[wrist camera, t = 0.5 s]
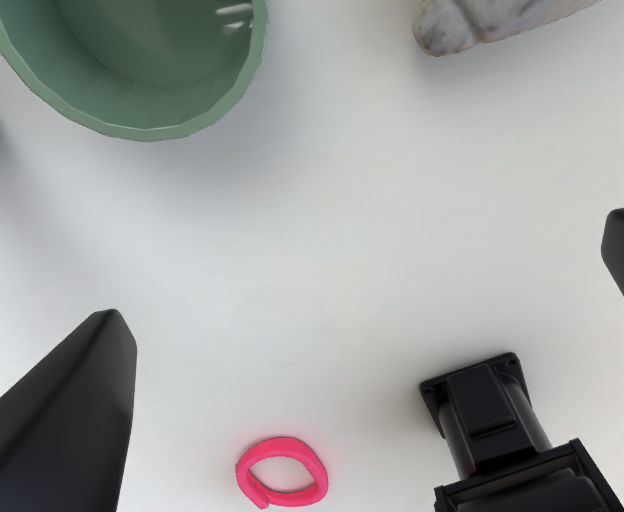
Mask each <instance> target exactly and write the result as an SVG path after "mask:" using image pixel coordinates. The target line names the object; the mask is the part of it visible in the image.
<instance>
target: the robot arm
mask: <svg viewBox="0 0 624 512" xmlns="http://www.w3.org/2000/svg"><path fill="white" fill-rule="evenodd" d="M601 255H602V258H603V261H604V263H605V265H606V266H607V268H608V270H609V272H610V273H611V275H612V277H613V278H614V280H615V282H616V284H617V285H618V287H619V289H620V291H621V292H622V294H623V296H624V208H620V209H615V210H612V211H611V212H610V213H609V214H608V216H607V219H606V224H605V229H604V234H603V239H602V245H601ZM136 362H137V345H136V341H135V339H134V337H133V335H132V333H131V331H130V329H129V328H128V326H127V324H126V322H125V320H124V319H123V317H122V315H121V314H120V312H119V311H118V310H116V309H108V310H103V311H98V312H94V313H92V314H91V315H90V316H89V317H88V318H87V319H86V320H85V321H84V322H82V323H81V324H80V325H79V326H78V327H77V328H76V329H75V330H74V331H73V332H72V333H70V334H69V335H68V336H67V337H66V338H65V339H64V340H63V341H62V342H61V343H60V344H58V345H57V346H56V347H55V348H54V349H53V350H52V351H51V352H50V353H49V354H48V355H46V356H45V357H44V358H43V359H42V360H41V361H40V362H39V363H38V364H37V365H35V366H34V367H33V368H32V369H31V370H30V371H29V372H28V373H27V374H26V375H25V376H23V377H22V378H21V379H20V380H19V381H18V382H17V383H16V384H15V385H14V386H13V387H11V388H10V389H9V390H8V391H7V392H6V393H5V394H4V395H3V396H2V397H1V398H0V512H116V510H117V505H118V500H119V494H120V489H121V483H122V478H123V473H124V467H125V462H126V456H127V451H128V446H129V440H130V434H131V428H132V420H133V408H134V392H135V377H136ZM419 389H420V392H421V395H422V397H423V399H424V401H425V403H426V405H427V407H428V409H429V411H430V413H431V415H432V417H433V420H434V422H435V424H436V426H437V428H438V430H439V432H440V434H441V436H442V438H443V439H446V440H447V443H448V446H449V449H450V452H451V454H452V457H453V460H454V463H455V466H456V469H457V472H458V474H459V477H460V480H461V481H458V482H455V483H452V484H449V485H447V486H443V485H441V486H439V487H436V488H434V491H435V495H436V500H437V501H436V502H435V504H434V508H435V512H624V508H623V506H622V504H621V503H620V501H619V499H618V498H617V496H616V495H615V493H614V492H613V490H612V489H611V487H610V485H609V484H608V482H607V481H606V479H605V478H604V476H603V475H602V473H601V472H600V470H599V469H598V467H597V466H596V464H595V463H594V461H593V460H592V458H591V457H590V455H589V454H588V452H587V450H586V449H585V447H584V446H583V444H582V443H581V441H580V440H579V438H575V439H573V440H570V441H569V443H567V444H564V445H561V446H558V447H555V448H553V447H552V445H551V443H550V441H549V440H548V438H547V436H546V434H545V432H544V430H543V428H542V426H541V425H540V423H539V421H538V419H537V417H536V415H535V413H534V412H533V410H532V406H531V402H530V398H529V394H528V391H527V387H526V383H525V379H524V376H523V372H522V368H521V364H520V361H519V359H518V357H517V355H516V354H515V353H511V352H510V353H506V354H504V355H501V356H498V357H495V358H492V359H489V360H486V361H483V362H480V363H478V364H475V365H472V366H469V367H466V368H463V369H460V370H457V371H454V372H452V373H449V374H446V375H443V376H440V377H437V378H434V379H431V380H428V381H426V382H423V383H422V384H420V386H419Z"/></svg>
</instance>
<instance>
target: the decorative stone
mask: <svg viewBox="0 0 624 512" xmlns="http://www.w3.org/2000/svg"><path fill="white" fill-rule="evenodd" d="M599 1H601V0H424V1H423V3H422V4H421V6H420V7H419V9H418V11H417V12H416V14H415V16H414V18H413V21H412V31H413V34H414V37H415V39H416V41H417V42H418V44H419V46H420V47H421V49H422V50H423V51H424V53H426V54H428V55H431V56H434V57H440V56H444V55H449V54H453V53H458V52H461V51H464V50H467V49H469V48H471V47H472V46H474V45H475V44H476V43H478V42H484V43H488V42H493V41H497V40H501V39H504V38H506V37H508V36H512V35H516V34H519V33H521V32H523V31H526V30H530V29H533V28H536V27H538V26H541V25H543V24H547V23H551V22H554V21H556V20H558V19H561V18H564V17H567V16H570V15H572V14H573V13H575V12H577V11H579V10H581V9H584V8H586V7H589V6H591V5H593V4H595V3H597V2H599Z"/></svg>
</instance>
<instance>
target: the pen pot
mask: <svg viewBox="0 0 624 512" xmlns="http://www.w3.org/2000/svg"><path fill="white" fill-rule="evenodd" d="M268 22H269V7H268V0H0V53H1V54H2V55H3V57H4V58H5V59H6V60H7V62H8V63H9V64H10V66H11V67H12V68H13V69H14V71H15V72H16V73H17V74H18V76H19V77H20V78H21V79H22V81H23V82H24V83H25V85H26V86H27V87H28V88H30V90H31V91H32V92H34V93H35V94H36V95H37V96H39V97H40V98H41V99H43V100H44V101H45V102H46V103H48V104H49V105H50V106H51V107H53V108H54V109H55V110H57V111H58V112H59V113H60V114H62V115H63V116H64V117H67V119H69V120H72V121H74V122H76V123H78V124H81V125H83V126H85V127H87V128H90V129H92V130H94V131H96V132H98V133H101V134H103V135H107V136H110V137H116V138H122V139H128V140H134V141H141V142H153V141H161V140H169V139H177V138H183V137H186V136H188V135H190V134H193V133H195V132H197V131H199V130H201V129H203V128H205V127H207V126H210V125H212V124H214V123H216V122H217V121H219V120H220V119H221V118H222V117H223V116H224V115H225V114H226V113H227V112H228V111H229V110H230V109H231V108H232V107H233V106H234V105H235V104H236V103H237V102H238V101H239V100H240V99H241V98H242V97H243V96H244V94H245V93H246V91H247V89H248V87H249V85H250V83H251V82H252V80H253V78H254V76H255V74H256V72H257V70H258V68H259V66H260V64H261V62H262V58H263V54H264V47H265V41H266V35H267V28H268Z"/></svg>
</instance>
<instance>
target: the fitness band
mask: <svg viewBox="0 0 624 512" xmlns="http://www.w3.org/2000/svg"><path fill="white" fill-rule="evenodd" d="M276 456H284V457H290V458H294V459H296V460H298V461H300V462H301V463H302V464H303V465H304V466H305V467H306V469H307V470H308V471H309V472H310V474H311V475H312V476H313V478H314V479H315V483H314V484H313V485H312V486H311V487H309V488H307V489H305V490H303V491H299V492H295V493H277V492H274V491H271V490H269V489H267V488H266V487H264V486H263V485H262V484H261V483H260V482H259V481H258V480H257V479H256V478H255V477H254V476H253V474H252V473H251V472H250V471H249V468H250V467H251V466H252V465H254V464H255V463H256V462H258V461H260V460H263V459H265V458H269V457H276ZM235 473H236V478H237V483H238V486H239V487H240V489H241V490H242V492H243V493H244V494H245V495H246V496H247V497H248V498H249V499H250V500H251V501H252V502H253V503H254V504H255V505H256V506H257V507H258V508H260V509H266V508H268V506H269V503H270V504H274V505H278V506H285V507H299V506H306V505H310V504H313V503H316V502H318V501H320V500H321V499H322V498H324V496H325V495H326V493H327V490H328V478H327V473H326V470H325V468H324V466H323V465H322V463H321V462H320V460H319V459H318V457H317V456H316V455H315V454H314V452H313V451H312V450H311V449H310V448H309V447H308V446H307V445H306V444H304V443H303V442H301V441H299V440H297V439H293V438H285V437H280V438H273V439H269V440H266V441H263V442H261V443H259V444H257V445H255V446H254V447H252V448H251V449H249V450H248V451H247V452H246V453H245V454H244V455H243V456H242V458H241V459H240V461H239V463H238V464H237V465H235Z"/></svg>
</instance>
